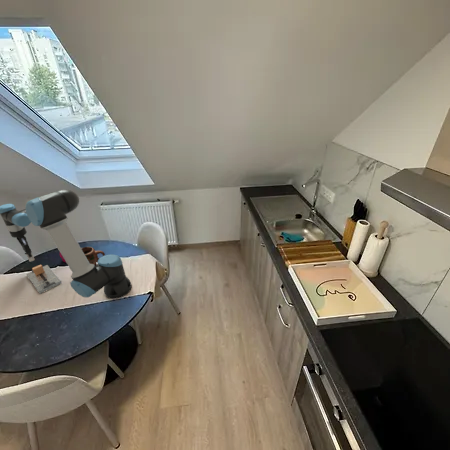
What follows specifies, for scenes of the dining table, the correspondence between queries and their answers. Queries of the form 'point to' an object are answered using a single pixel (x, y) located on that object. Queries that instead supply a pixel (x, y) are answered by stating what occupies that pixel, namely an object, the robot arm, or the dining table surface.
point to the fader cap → (38, 270)
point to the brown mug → (92, 254)
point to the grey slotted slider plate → (44, 279)
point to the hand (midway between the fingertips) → (32, 260)
